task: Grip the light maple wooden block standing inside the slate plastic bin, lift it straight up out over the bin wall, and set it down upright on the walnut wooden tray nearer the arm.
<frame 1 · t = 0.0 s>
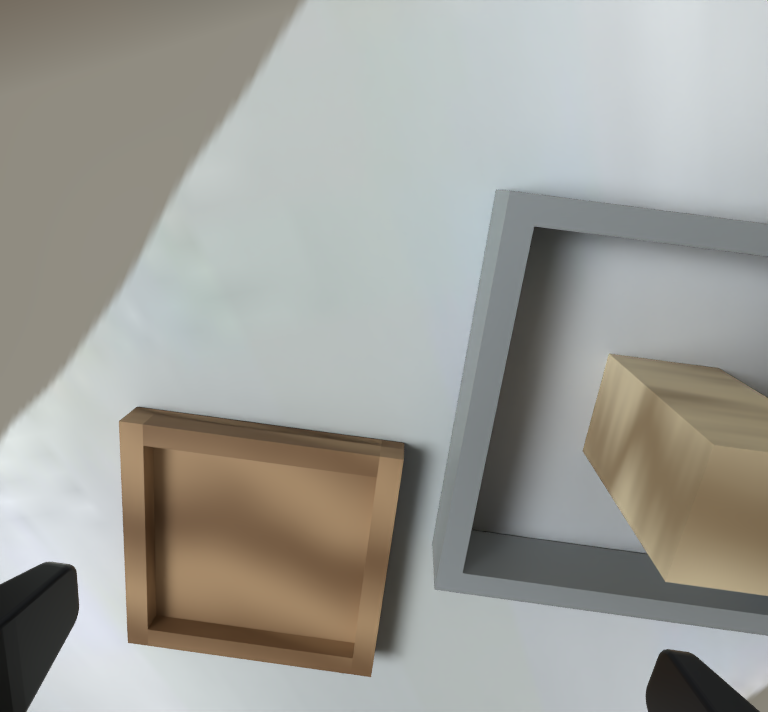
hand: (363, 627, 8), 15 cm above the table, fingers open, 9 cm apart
maple block: (696, 457, 19), in the slate bin
walnut tray: (263, 537, 25), on the table
slate bin: (648, 411, 22), on the table
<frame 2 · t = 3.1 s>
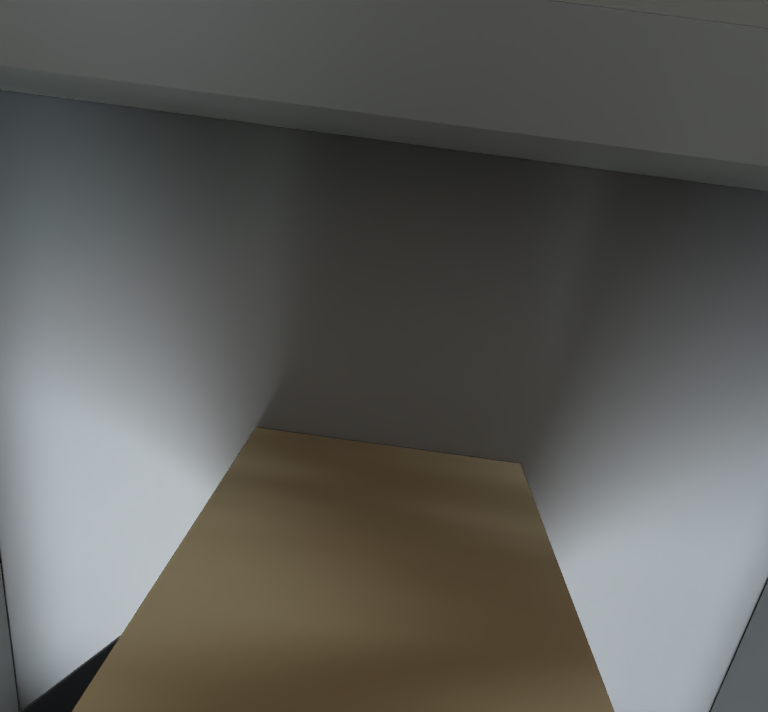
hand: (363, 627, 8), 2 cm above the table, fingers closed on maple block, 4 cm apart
slate bin: (370, 556, 10), on the table
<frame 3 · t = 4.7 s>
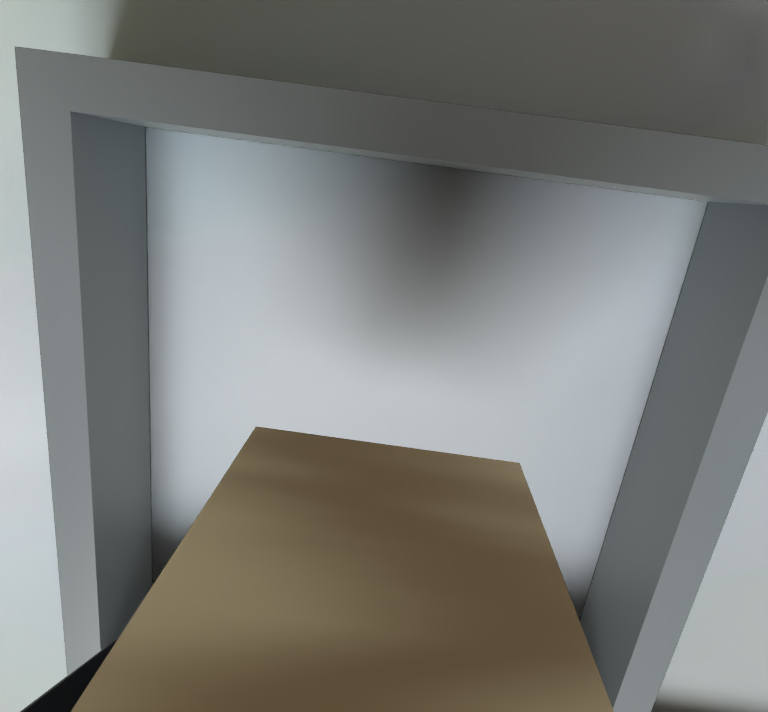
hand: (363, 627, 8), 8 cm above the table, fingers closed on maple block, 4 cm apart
slate bin: (388, 420, 15), on the table
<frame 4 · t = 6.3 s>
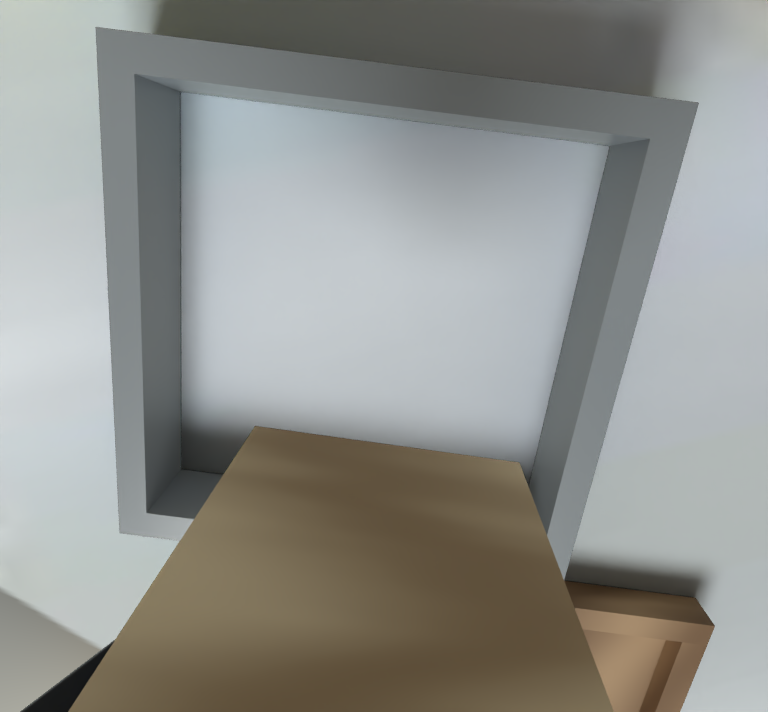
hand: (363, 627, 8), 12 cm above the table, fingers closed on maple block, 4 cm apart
walnut tray: (525, 684, 24), on the table
slate bin: (370, 326, 19), on the table
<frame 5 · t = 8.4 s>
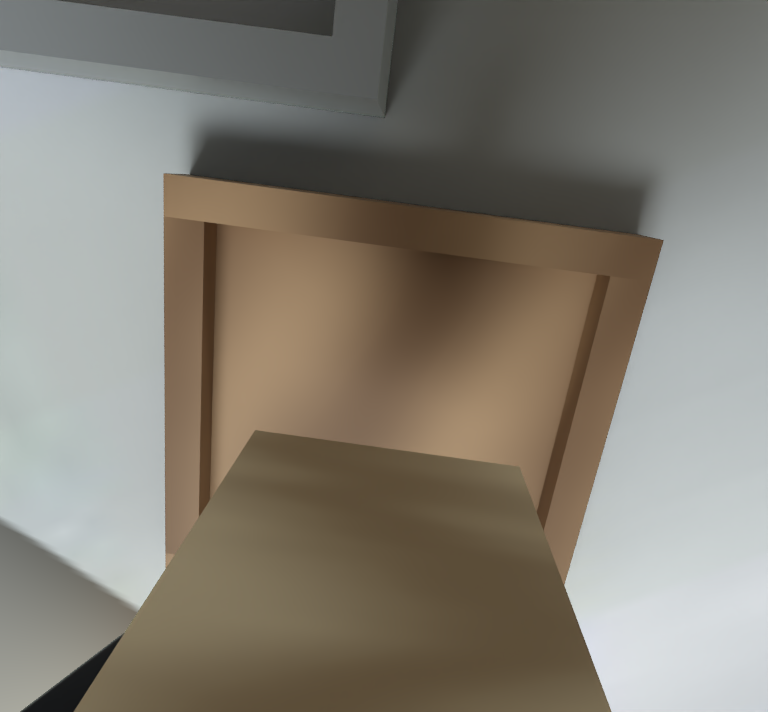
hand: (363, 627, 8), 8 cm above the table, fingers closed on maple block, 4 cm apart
walnut tray: (384, 410, 16), on the table
when the fingers open (4 cm above the table, at t = 9.9 s): maple block drops 1 cm, resting on walnut tray.
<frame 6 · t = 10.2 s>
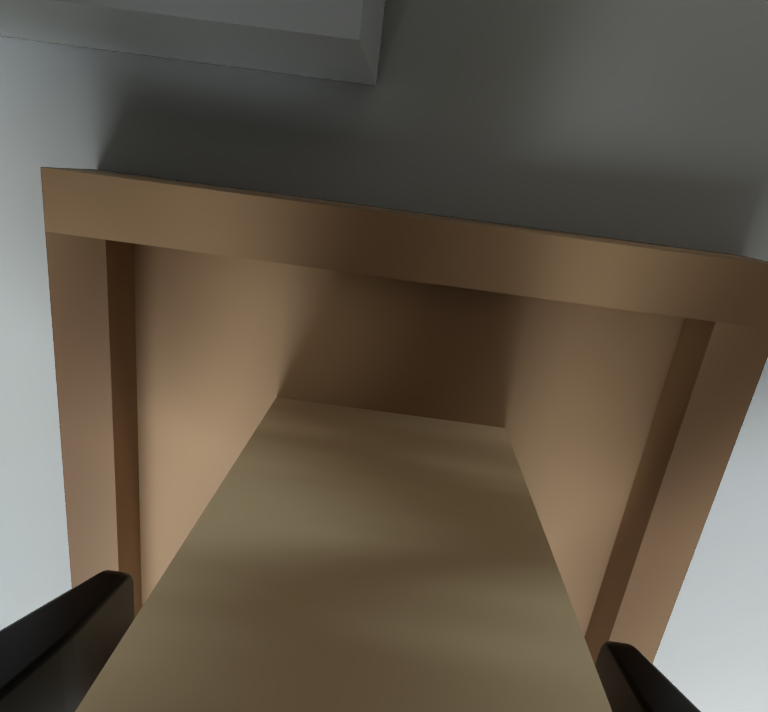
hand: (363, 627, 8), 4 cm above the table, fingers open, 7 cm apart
maple block: (357, 682, 7), point 5 cm above the table, touching walnut tray
walnut tray: (377, 493, 12), on the table
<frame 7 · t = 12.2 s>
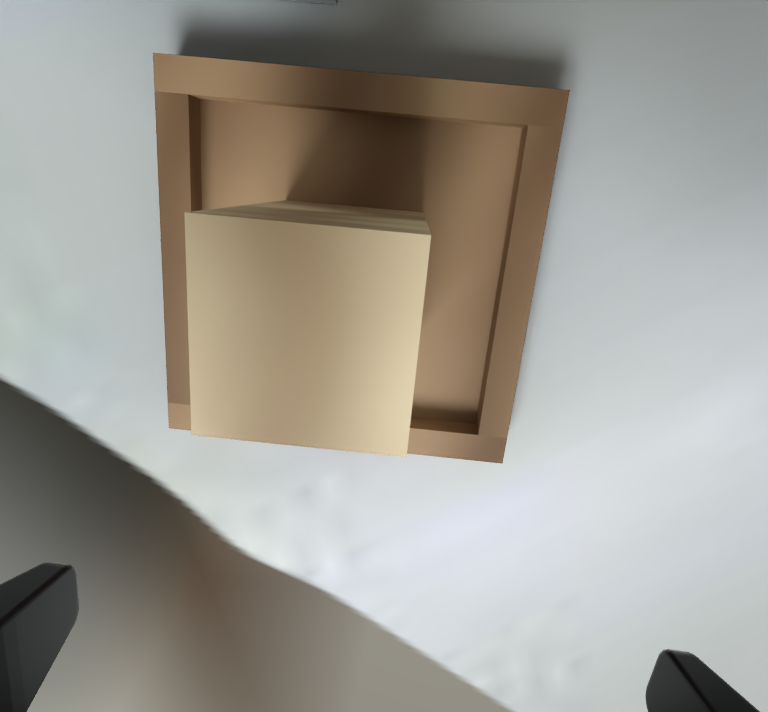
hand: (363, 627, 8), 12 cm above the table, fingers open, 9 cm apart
maple block: (332, 299, 14), point 5 cm above the table, touching walnut tray
walnut tray: (350, 271, 18), on the table
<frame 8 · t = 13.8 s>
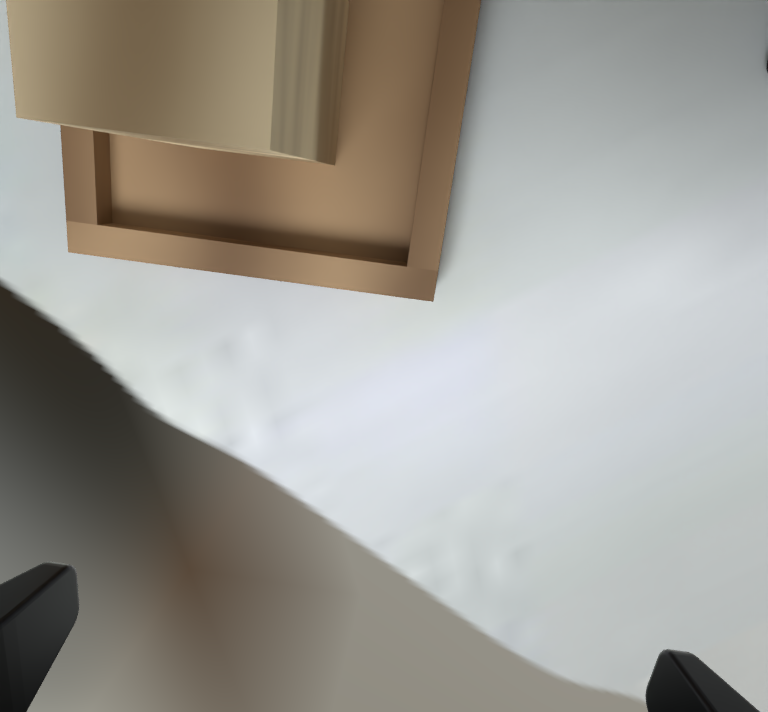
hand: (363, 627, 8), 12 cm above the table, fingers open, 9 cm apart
maple block: (224, 45, 12), point 5 cm above the table, touching walnut tray
walnut tray: (272, 81, 17), on the table
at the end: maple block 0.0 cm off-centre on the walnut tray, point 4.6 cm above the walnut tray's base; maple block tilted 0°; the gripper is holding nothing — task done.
